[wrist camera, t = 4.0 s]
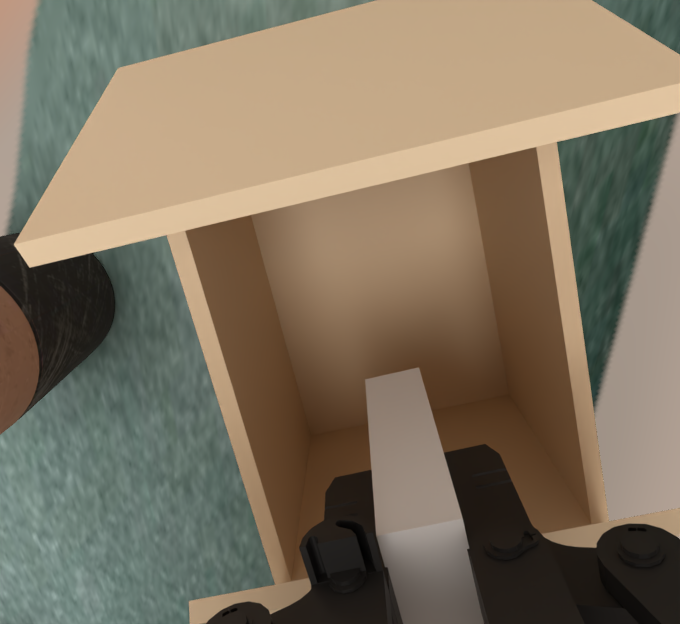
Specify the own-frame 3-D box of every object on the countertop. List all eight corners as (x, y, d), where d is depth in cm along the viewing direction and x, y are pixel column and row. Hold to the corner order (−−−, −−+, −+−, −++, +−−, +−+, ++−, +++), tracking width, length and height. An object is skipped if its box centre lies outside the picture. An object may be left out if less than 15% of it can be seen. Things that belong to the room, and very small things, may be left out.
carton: (519, 399, 33) (611, 537, 21) (304, 444, 34) (279, 600, 22) (459, 47, 28) (534, -20, 17) (211, 109, 29) (120, 87, 18)
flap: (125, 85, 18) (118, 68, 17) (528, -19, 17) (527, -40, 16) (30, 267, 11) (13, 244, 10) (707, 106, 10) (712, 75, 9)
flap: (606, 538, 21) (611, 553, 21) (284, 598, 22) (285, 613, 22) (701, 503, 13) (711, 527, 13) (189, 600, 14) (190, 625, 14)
